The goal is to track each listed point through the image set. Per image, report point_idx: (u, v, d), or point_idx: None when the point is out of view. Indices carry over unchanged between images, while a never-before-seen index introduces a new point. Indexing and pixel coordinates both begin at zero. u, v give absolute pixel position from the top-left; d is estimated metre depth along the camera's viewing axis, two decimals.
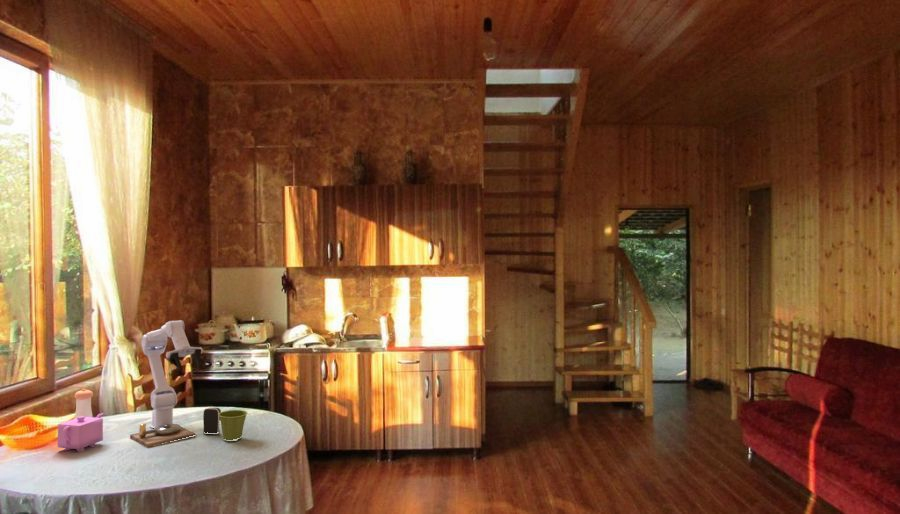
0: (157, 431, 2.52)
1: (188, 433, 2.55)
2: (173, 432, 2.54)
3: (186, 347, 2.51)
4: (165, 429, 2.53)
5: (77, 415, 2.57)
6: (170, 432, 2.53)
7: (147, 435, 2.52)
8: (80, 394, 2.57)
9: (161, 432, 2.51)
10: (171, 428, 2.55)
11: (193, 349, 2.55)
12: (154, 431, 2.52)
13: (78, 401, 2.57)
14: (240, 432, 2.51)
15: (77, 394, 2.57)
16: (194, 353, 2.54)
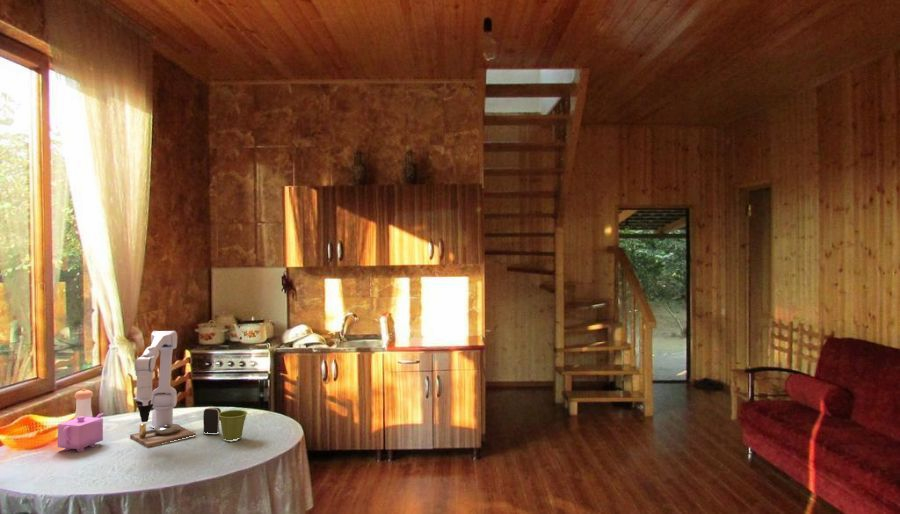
0: (157, 431, 2.52)
1: (188, 433, 2.55)
2: (173, 432, 2.54)
3: None
4: (165, 429, 2.53)
5: (77, 415, 2.57)
6: (170, 432, 2.53)
7: (147, 435, 2.52)
8: (80, 394, 2.57)
9: (161, 432, 2.51)
10: (171, 428, 2.55)
11: None
12: (154, 431, 2.52)
13: (78, 401, 2.57)
14: (240, 432, 2.51)
15: (77, 394, 2.57)
16: None
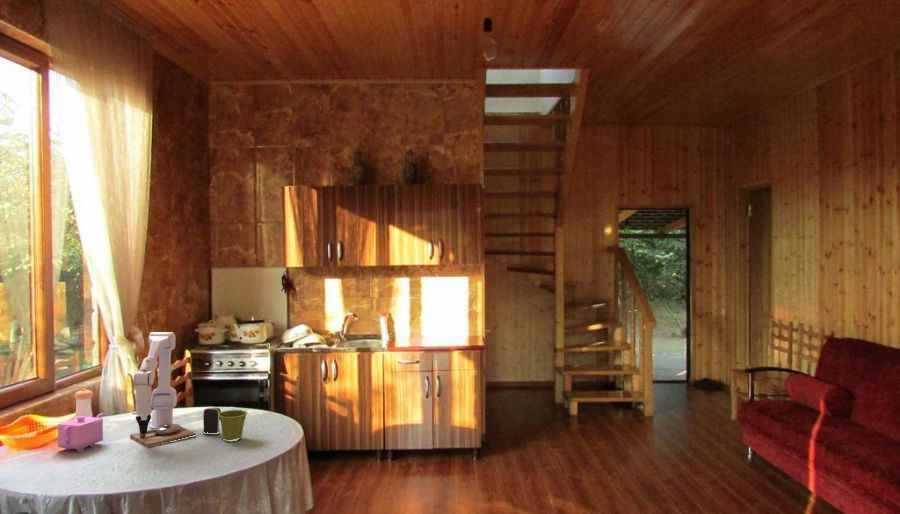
0: (157, 431, 2.52)
1: (188, 433, 2.55)
2: (173, 432, 2.54)
3: None
4: (165, 429, 2.53)
5: (77, 415, 2.57)
6: (170, 432, 2.53)
7: (147, 435, 2.52)
8: (80, 394, 2.57)
9: (161, 432, 2.51)
10: (171, 428, 2.55)
11: None
12: (154, 431, 2.52)
13: (78, 401, 2.57)
14: (240, 432, 2.51)
15: (77, 394, 2.57)
16: None
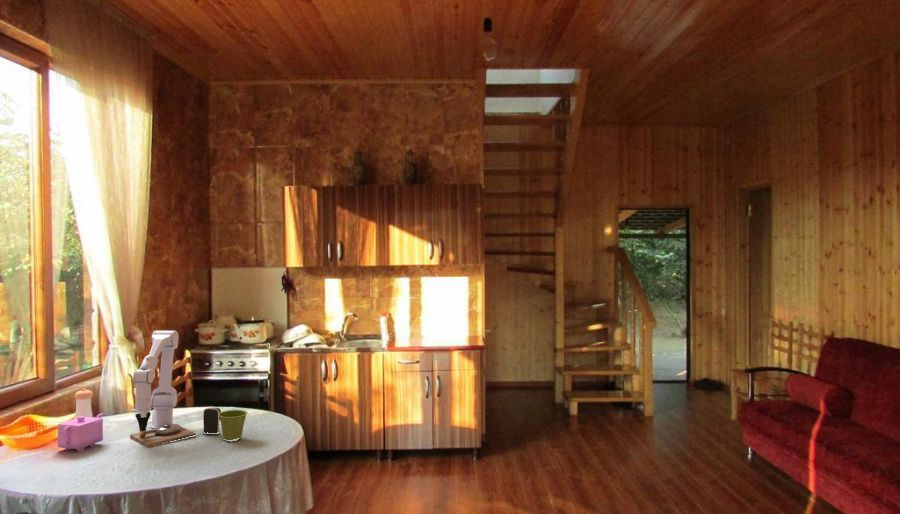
0: (157, 431, 2.52)
1: (188, 433, 2.55)
2: (173, 432, 2.54)
3: None
4: (165, 429, 2.53)
5: (77, 415, 2.57)
6: (170, 432, 2.53)
7: (147, 435, 2.52)
8: (80, 394, 2.57)
9: (161, 432, 2.51)
10: (171, 428, 2.55)
11: None
12: (154, 431, 2.52)
13: (78, 401, 2.57)
14: (240, 432, 2.51)
15: (77, 394, 2.57)
16: None
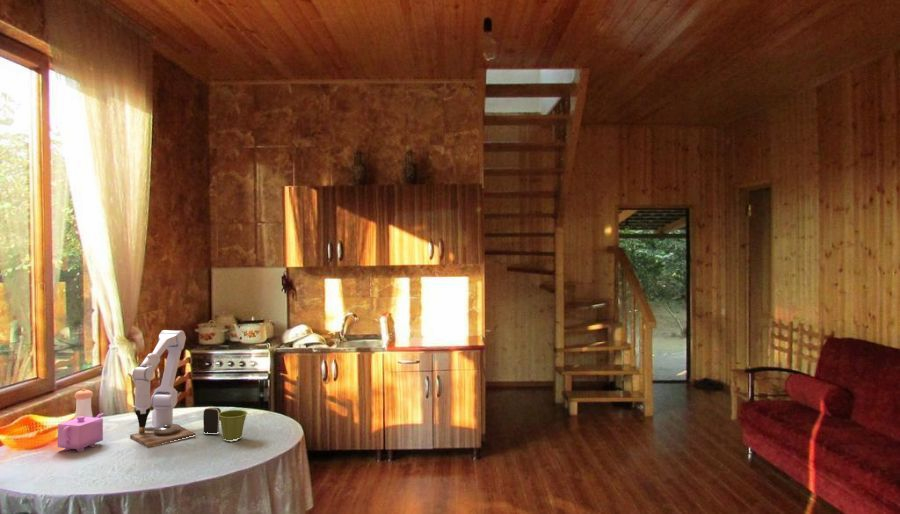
0: (154, 430, 2.54)
1: (188, 433, 2.55)
2: (165, 433, 2.52)
3: None
4: (160, 429, 2.53)
5: (77, 415, 2.57)
6: (162, 433, 2.51)
7: (147, 435, 2.52)
8: (80, 394, 2.57)
9: (155, 431, 2.52)
10: (166, 429, 2.53)
11: None
12: (153, 429, 2.55)
13: (78, 401, 2.57)
14: (240, 432, 2.51)
15: (77, 394, 2.57)
16: None
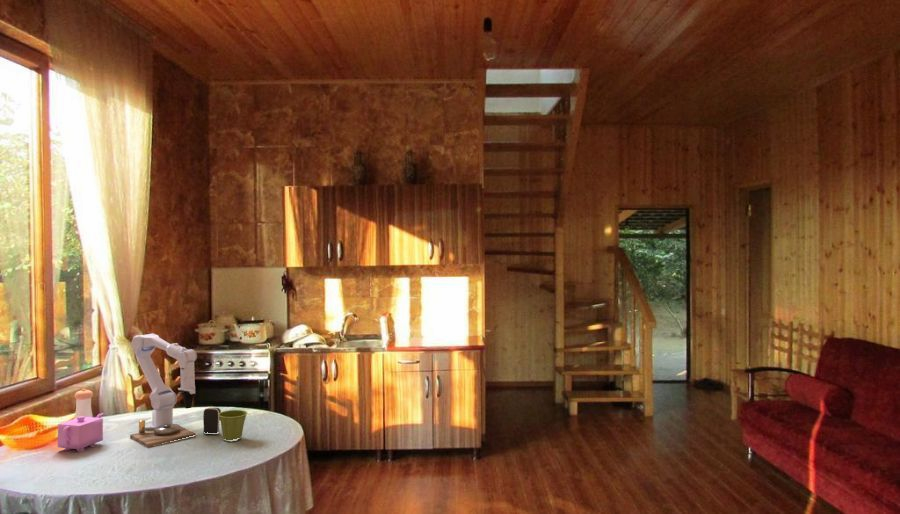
0: (154, 430, 2.54)
1: (188, 433, 2.55)
2: (165, 433, 2.52)
3: (180, 389, 2.61)
4: (160, 429, 2.53)
5: (77, 415, 2.57)
6: (162, 433, 2.51)
7: (147, 435, 2.52)
8: (80, 394, 2.57)
9: (155, 431, 2.52)
10: (166, 429, 2.53)
11: None
12: (153, 429, 2.55)
13: (78, 401, 2.57)
14: (240, 432, 2.51)
15: (77, 394, 2.57)
16: None
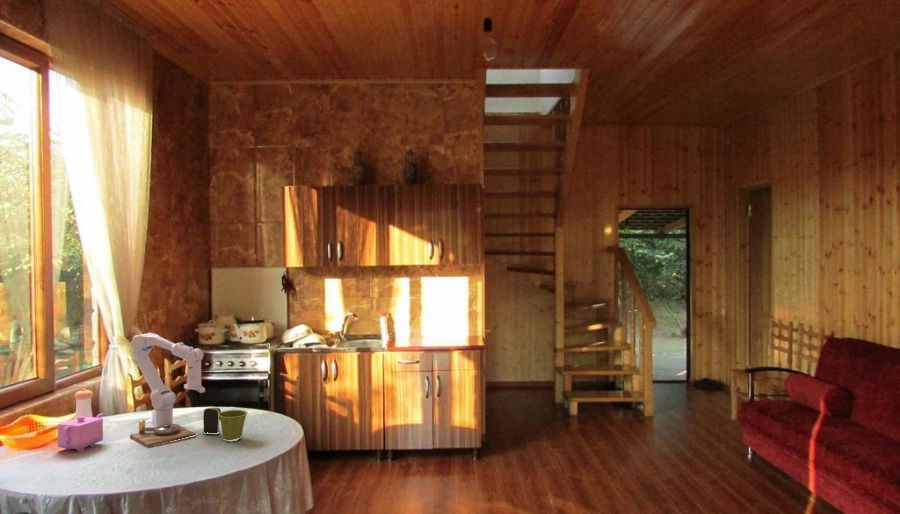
0: (154, 430, 2.54)
1: (188, 433, 2.55)
2: (165, 433, 2.52)
3: (187, 388, 2.63)
4: (160, 429, 2.53)
5: (77, 415, 2.57)
6: (162, 433, 2.51)
7: (147, 435, 2.52)
8: (80, 394, 2.57)
9: (155, 431, 2.52)
10: (166, 429, 2.53)
11: None
12: (153, 429, 2.55)
13: (78, 401, 2.57)
14: (240, 432, 2.51)
15: (77, 394, 2.57)
16: None
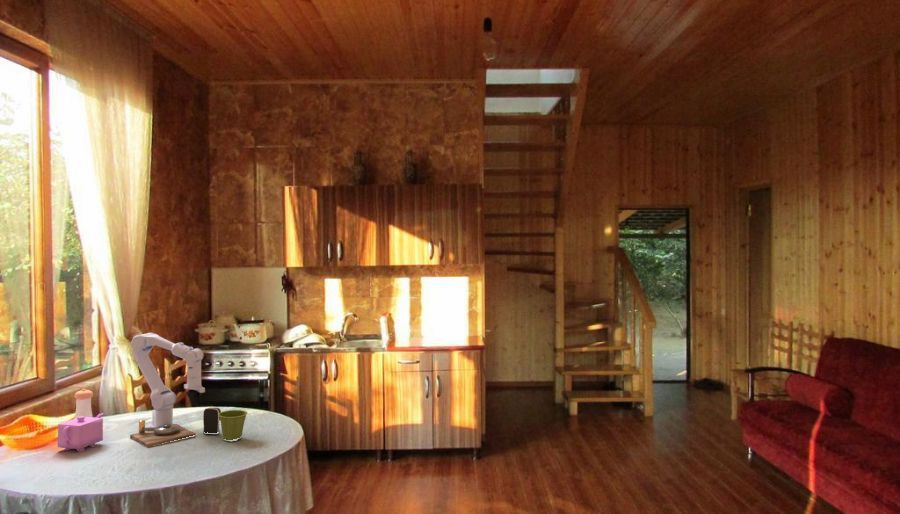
0: (154, 430, 2.54)
1: (188, 433, 2.55)
2: (165, 433, 2.52)
3: (187, 388, 2.63)
4: (160, 429, 2.53)
5: (77, 415, 2.57)
6: (162, 433, 2.51)
7: (147, 435, 2.52)
8: (80, 394, 2.57)
9: (155, 431, 2.52)
10: (166, 429, 2.53)
11: None
12: (153, 429, 2.55)
13: (78, 401, 2.57)
14: (240, 432, 2.51)
15: (77, 394, 2.57)
16: None
